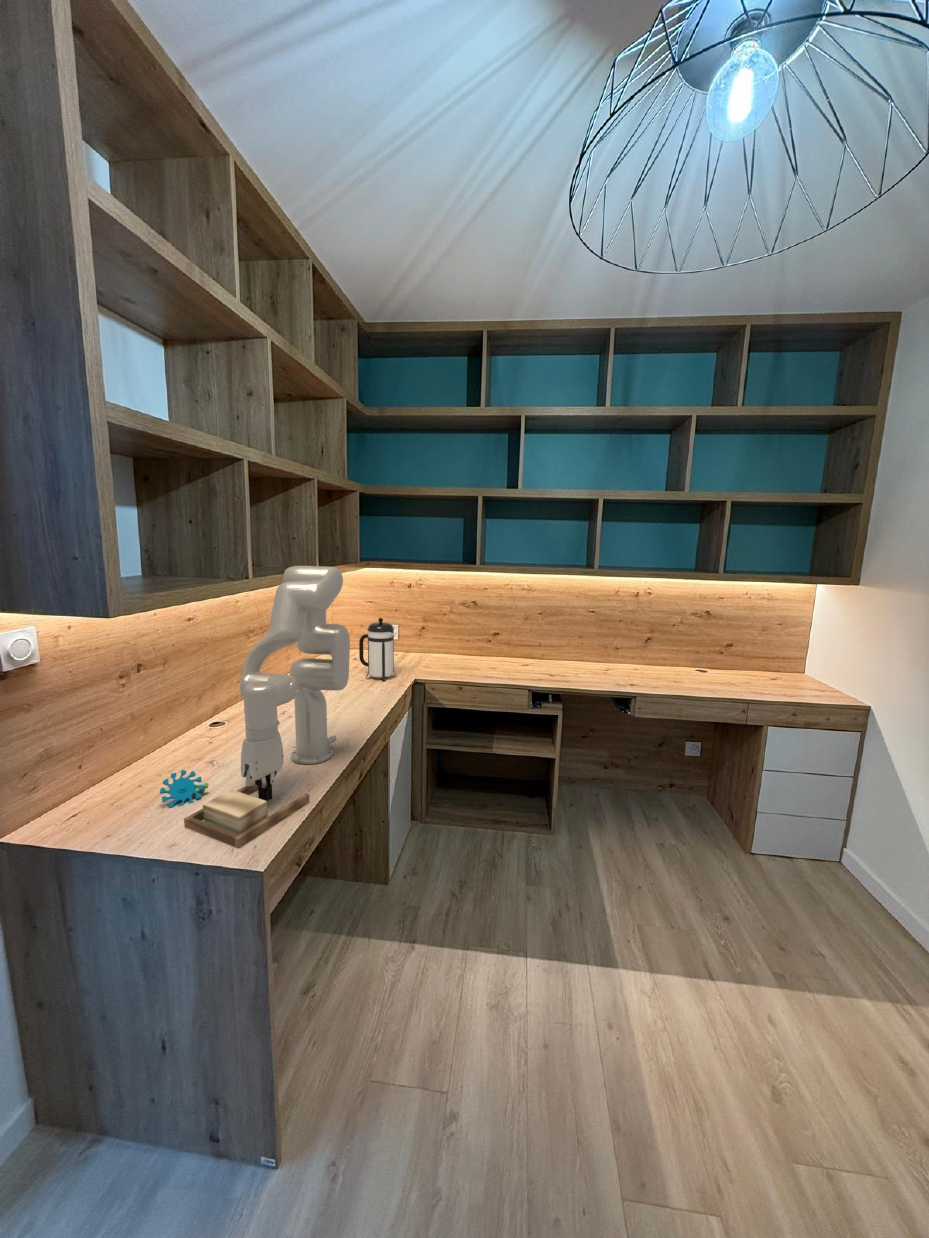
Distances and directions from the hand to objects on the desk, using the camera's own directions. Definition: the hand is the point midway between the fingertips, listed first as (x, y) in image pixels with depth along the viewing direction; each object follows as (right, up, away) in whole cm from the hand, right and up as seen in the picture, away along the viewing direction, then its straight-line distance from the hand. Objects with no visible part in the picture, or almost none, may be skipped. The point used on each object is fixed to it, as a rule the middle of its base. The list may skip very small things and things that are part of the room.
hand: (265, 798), depth 129 cm
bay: (-2, -3, -4) cm, 6 cm away
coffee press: (+8, +17, +120) cm, 122 cm away
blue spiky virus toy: (-22, -2, +2) cm, 22 cm away
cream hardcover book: (-4, -3, -8) cm, 9 cm away
